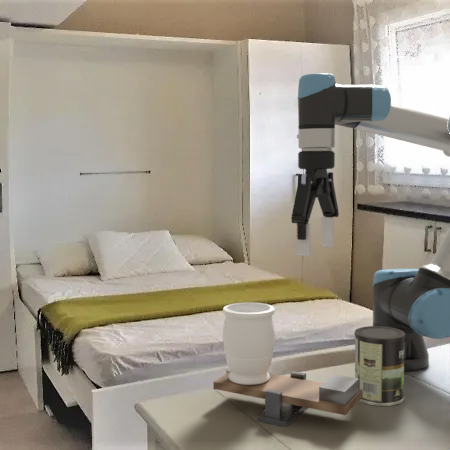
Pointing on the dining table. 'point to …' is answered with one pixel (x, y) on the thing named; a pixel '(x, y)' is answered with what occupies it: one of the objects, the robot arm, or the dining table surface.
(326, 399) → the beam
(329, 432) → the dining table surface
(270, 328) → the jar
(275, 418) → the pivot stand
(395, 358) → the coffee can
